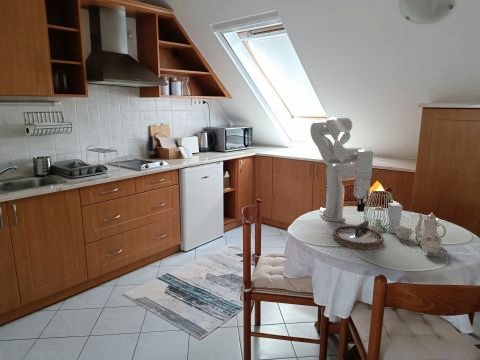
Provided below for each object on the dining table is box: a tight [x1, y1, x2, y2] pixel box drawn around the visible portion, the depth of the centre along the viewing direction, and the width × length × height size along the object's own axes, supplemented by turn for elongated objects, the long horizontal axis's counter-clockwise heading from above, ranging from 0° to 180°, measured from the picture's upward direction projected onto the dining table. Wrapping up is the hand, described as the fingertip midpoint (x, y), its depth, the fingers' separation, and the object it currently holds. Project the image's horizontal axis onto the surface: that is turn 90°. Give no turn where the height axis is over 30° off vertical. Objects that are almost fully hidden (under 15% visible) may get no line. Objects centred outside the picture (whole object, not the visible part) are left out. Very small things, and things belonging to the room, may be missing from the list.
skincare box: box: [386, 200, 403, 233], centre depth 185 cm, size 8×6×15 cm
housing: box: [332, 225, 385, 251], centre depth 172 cm, size 23×23×3 cm
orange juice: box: [370, 180, 386, 194], centre depth 206 cm, size 8×9×20 cm
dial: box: [337, 219, 380, 243], centre depth 172 cm, size 20×20×7 cm
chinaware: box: [395, 212, 447, 257], centre depth 165 cm, size 28×17×17 cm, turn 20°
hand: (360, 211), depth 178 cm, fingers closed
